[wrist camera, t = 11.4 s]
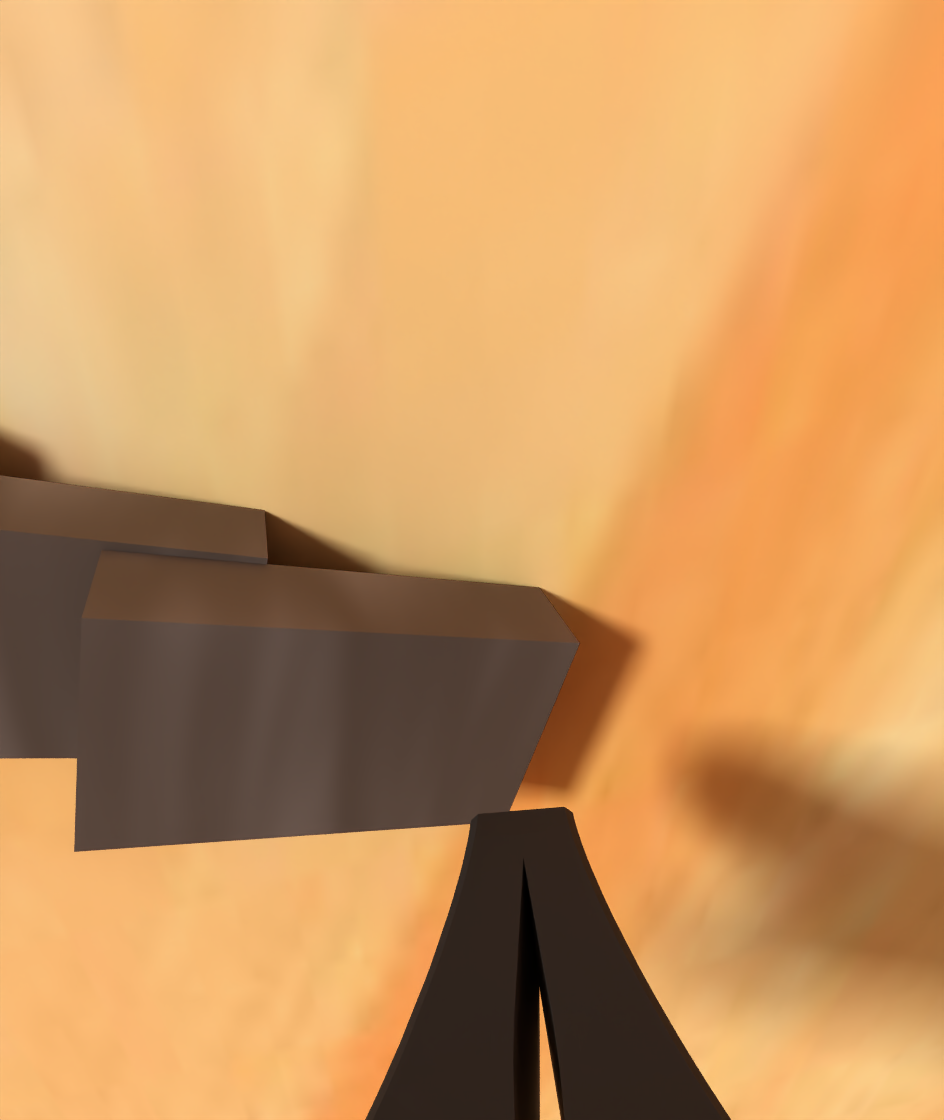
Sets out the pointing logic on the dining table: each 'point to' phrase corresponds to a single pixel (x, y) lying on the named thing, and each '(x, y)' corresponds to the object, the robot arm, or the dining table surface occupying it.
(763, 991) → the dining table surface
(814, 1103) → the dining table surface
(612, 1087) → the robot arm
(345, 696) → the domino
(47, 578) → the domino
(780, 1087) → the dining table surface
